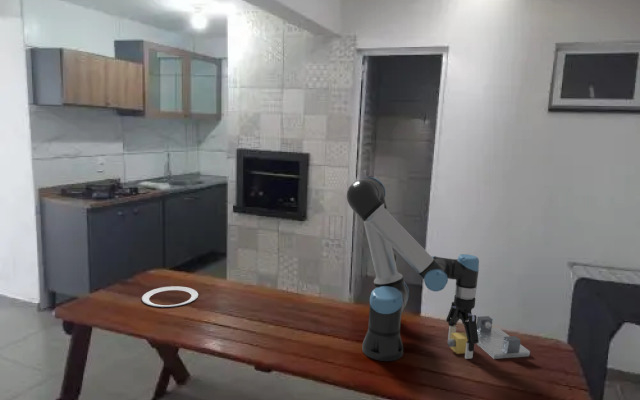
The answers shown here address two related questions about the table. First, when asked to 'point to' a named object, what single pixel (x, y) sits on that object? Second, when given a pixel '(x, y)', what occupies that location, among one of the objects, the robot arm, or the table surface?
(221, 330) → the table surface
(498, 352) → the grey mounting plate
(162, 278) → the table surface
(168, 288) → the flat white ring
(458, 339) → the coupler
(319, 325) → the table surface
